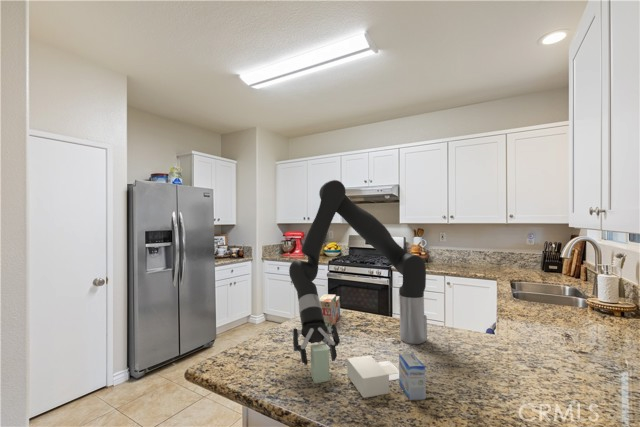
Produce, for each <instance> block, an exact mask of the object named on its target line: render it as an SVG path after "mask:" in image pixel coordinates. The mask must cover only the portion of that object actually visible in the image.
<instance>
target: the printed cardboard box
mask: <svg viewBox="0 0 640 427" xmlns="http://www.w3.org/2000/svg"><path fill="white" fill-rule="evenodd" d="M340 297H341V296H339V295H337V294H331V293H330V294H325V293H324V294H323V293H322V296H321V297H320V298H319V300H320V303H321V307H322V312H323V317H324V321H325V325H326V326H327V327H330V326H332V325H333V324H334V325H336V322H338V321H337V320H338V319H339V317H340V316H341V298H340Z"/></svg>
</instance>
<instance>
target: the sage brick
mask: <svg viewBox="0 0 640 427" xmlns="http://www.w3.org/2000/svg"><path fill="white" fill-rule="evenodd" d="M310 376H311V378H312V381H313V383H314V384H318V383H325V382H330V380H331V379H330V348H329V346H328V345H326V344H324V343H318V344H311V345H310Z"/></svg>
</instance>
